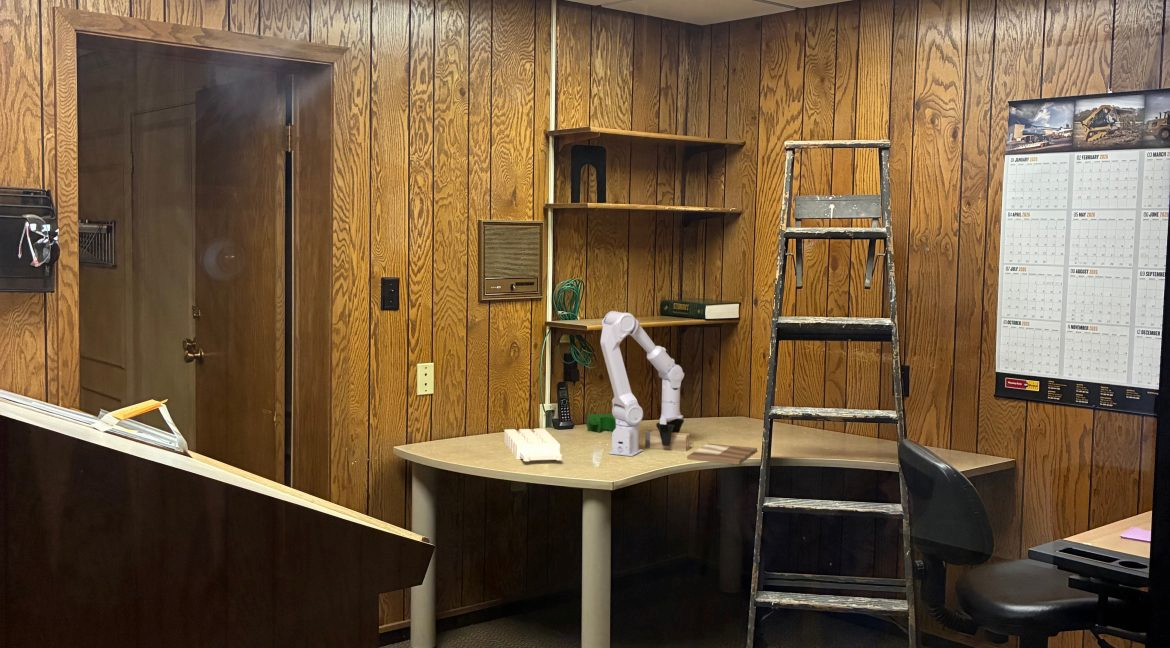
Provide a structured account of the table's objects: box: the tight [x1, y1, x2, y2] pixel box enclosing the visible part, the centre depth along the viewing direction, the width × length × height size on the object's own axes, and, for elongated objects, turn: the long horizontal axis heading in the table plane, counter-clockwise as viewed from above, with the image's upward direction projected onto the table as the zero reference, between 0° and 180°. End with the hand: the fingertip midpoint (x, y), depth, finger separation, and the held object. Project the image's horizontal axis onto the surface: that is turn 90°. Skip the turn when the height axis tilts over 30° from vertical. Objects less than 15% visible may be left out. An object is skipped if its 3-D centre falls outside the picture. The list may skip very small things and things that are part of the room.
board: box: [686, 443, 758, 465], centre depth 316 cm, size 22×16×1 cm
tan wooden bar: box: [644, 429, 691, 452], centre depth 325 cm, size 4×14×5 cm, turn 66°
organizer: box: [503, 428, 563, 462], centre depth 315 cm, size 13×5×35 cm
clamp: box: [585, 413, 616, 434], centre depth 354 cm, size 12×6×9 cm, turn 98°
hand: (669, 443), depth 325 cm, fingers open, 7 cm apart
